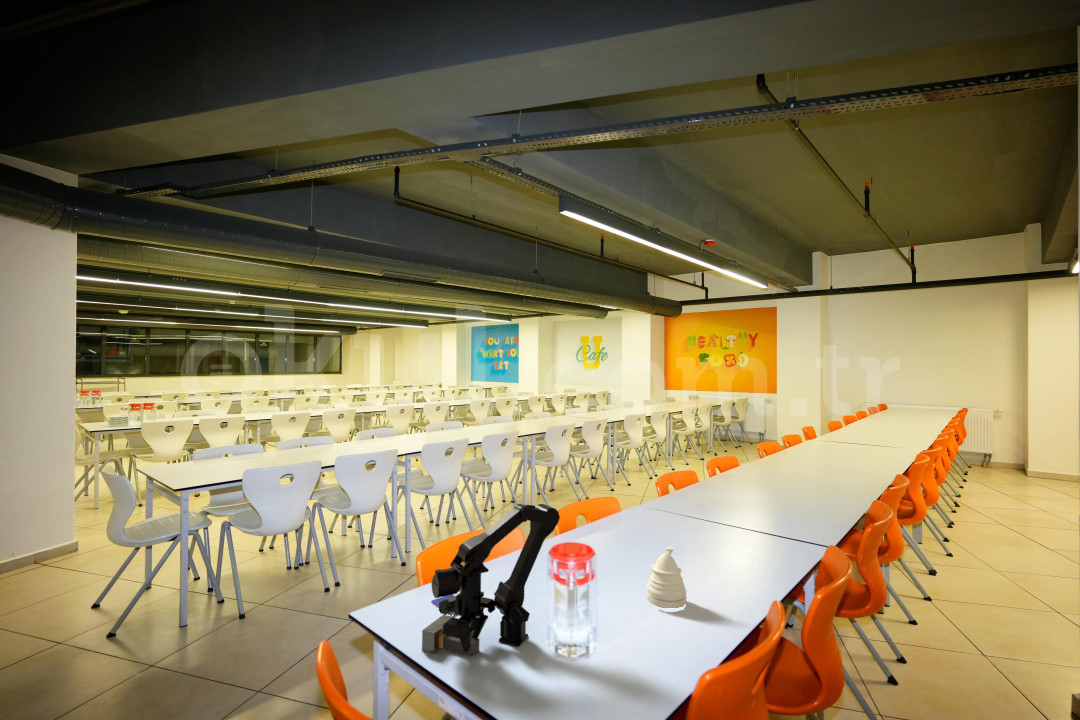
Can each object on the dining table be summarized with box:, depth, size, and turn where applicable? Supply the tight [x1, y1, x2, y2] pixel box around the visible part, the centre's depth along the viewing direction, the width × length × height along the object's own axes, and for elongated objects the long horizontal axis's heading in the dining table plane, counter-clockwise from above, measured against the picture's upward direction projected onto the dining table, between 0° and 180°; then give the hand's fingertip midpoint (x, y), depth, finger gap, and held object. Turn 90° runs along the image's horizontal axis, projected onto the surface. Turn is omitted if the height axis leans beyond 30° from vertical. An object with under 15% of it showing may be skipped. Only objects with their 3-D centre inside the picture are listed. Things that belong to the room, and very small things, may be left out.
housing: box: [421, 614, 456, 655], centre depth 140 cm, size 4×10×6 cm, turn 156°
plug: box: [438, 631, 480, 657], centre depth 138 cm, size 14×4×3 cm, turn 67°
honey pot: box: [646, 546, 687, 608], centre depth 167 cm, size 13×13×18 cm
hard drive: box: [430, 594, 456, 617], centre depth 163 cm, size 2×8×12 cm
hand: (469, 648), depth 136 cm, fingers closed on plug, 3 cm apart
